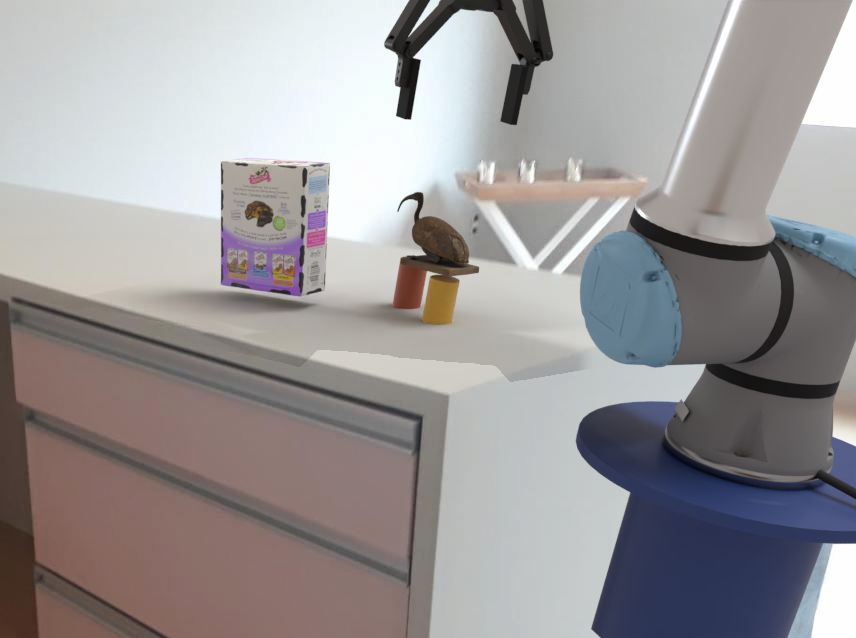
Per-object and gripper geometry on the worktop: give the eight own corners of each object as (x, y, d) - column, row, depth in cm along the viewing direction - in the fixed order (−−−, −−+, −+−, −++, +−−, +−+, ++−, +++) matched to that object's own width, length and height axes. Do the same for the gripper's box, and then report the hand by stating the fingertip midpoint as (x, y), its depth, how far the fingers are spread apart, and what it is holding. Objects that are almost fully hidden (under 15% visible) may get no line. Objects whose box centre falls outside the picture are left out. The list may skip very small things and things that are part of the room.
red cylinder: (423, 316, 150) (433, 263, 147) (398, 316, 150) (407, 263, 146) (412, 308, 153) (421, 256, 150) (387, 308, 153) (396, 255, 150)
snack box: (327, 291, 152) (332, 161, 146) (300, 298, 148) (305, 165, 142) (245, 278, 161) (247, 155, 154) (218, 285, 157) (219, 159, 150)
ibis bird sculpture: (379, 259, 149) (384, 189, 146) (408, 256, 151) (413, 187, 148) (449, 276, 137) (456, 201, 134) (479, 273, 139) (486, 199, 136)
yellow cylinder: (453, 338, 143) (464, 282, 139) (427, 338, 142) (437, 282, 139) (441, 329, 146) (451, 274, 143) (415, 329, 145) (425, 274, 142)
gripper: (576, -72, 133) (535, 120, 143) (375, -91, 127) (346, 110, 137) (612, -72, 127) (567, 130, 136) (402, -92, 121) (370, 120, 130)
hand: (456, 121), depth 137 cm, fingers open, 13 cm apart
